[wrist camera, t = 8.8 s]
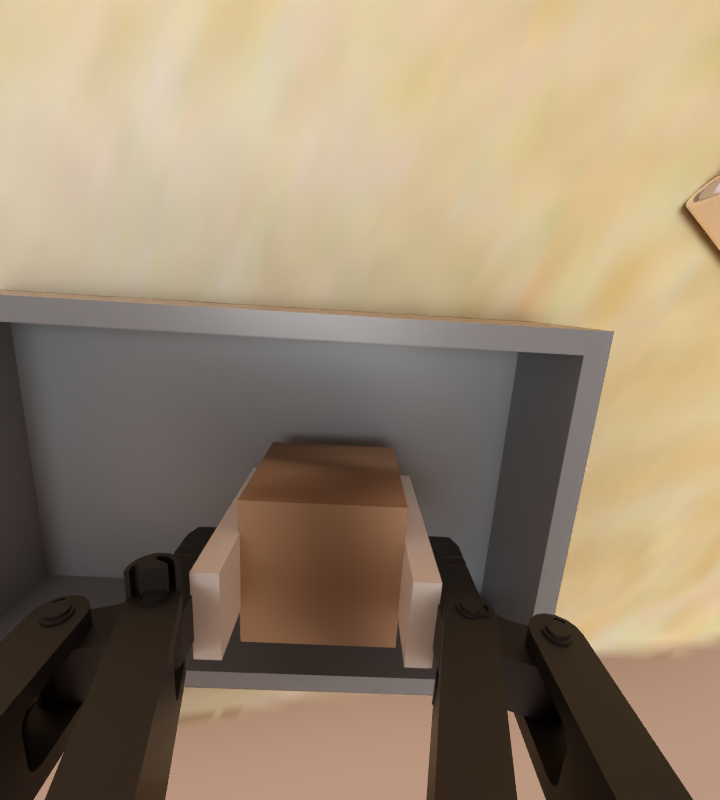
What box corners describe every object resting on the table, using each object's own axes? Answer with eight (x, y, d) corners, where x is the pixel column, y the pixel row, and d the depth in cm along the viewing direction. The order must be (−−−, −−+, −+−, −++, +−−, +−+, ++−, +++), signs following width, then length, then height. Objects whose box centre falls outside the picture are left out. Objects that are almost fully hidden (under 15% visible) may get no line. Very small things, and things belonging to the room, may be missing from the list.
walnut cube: (273, 548, 18) (240, 641, 13) (273, 442, 16) (237, 500, 12) (385, 553, 18) (395, 647, 13) (393, 447, 17) (407, 508, 12)
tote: (45, 577, 21) (-68, 678, 15) (2, 290, 17) (-166, 284, 12) (489, 595, 22) (536, 699, 16) (533, 321, 18) (613, 331, 12)
